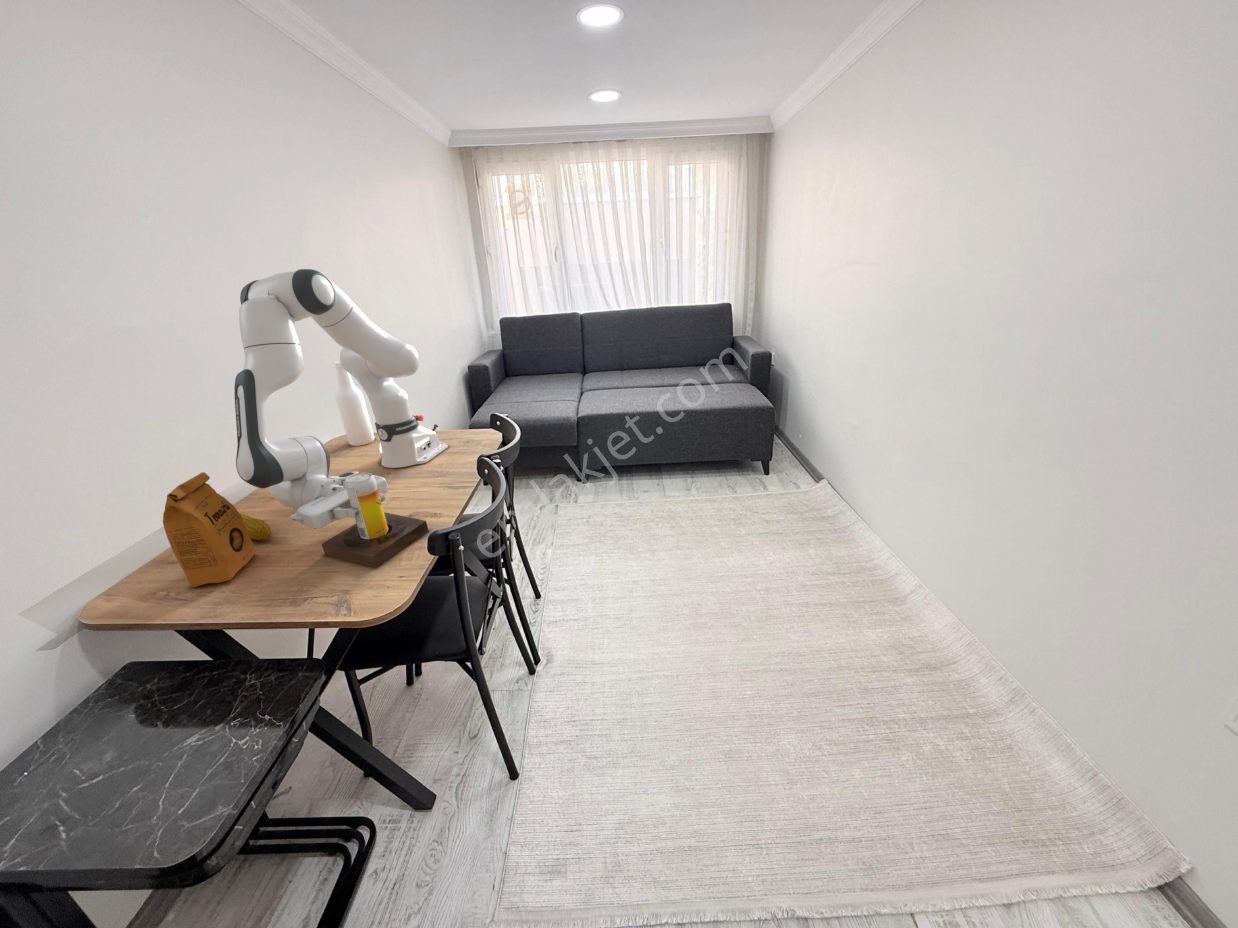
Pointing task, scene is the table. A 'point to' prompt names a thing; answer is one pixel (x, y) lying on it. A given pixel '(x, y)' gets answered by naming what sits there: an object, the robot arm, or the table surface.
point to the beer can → (367, 505)
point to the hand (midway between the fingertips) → (369, 505)
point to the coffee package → (205, 532)
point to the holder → (376, 541)
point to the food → (256, 528)
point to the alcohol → (353, 409)
